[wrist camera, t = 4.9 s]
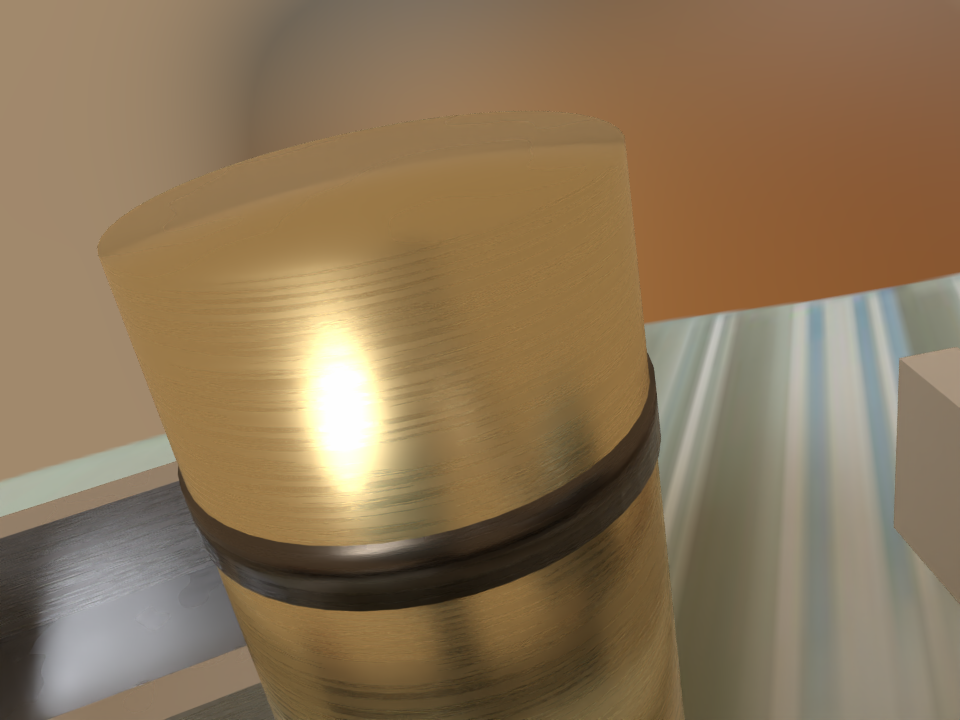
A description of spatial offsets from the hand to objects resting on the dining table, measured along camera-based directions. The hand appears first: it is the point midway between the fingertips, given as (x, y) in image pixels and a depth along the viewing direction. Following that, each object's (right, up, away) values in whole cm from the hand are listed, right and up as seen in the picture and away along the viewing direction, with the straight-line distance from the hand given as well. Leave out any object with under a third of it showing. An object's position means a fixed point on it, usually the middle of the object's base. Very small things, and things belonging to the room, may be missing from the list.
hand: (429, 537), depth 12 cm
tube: (+2, -7, +1) cm, 7 cm away
